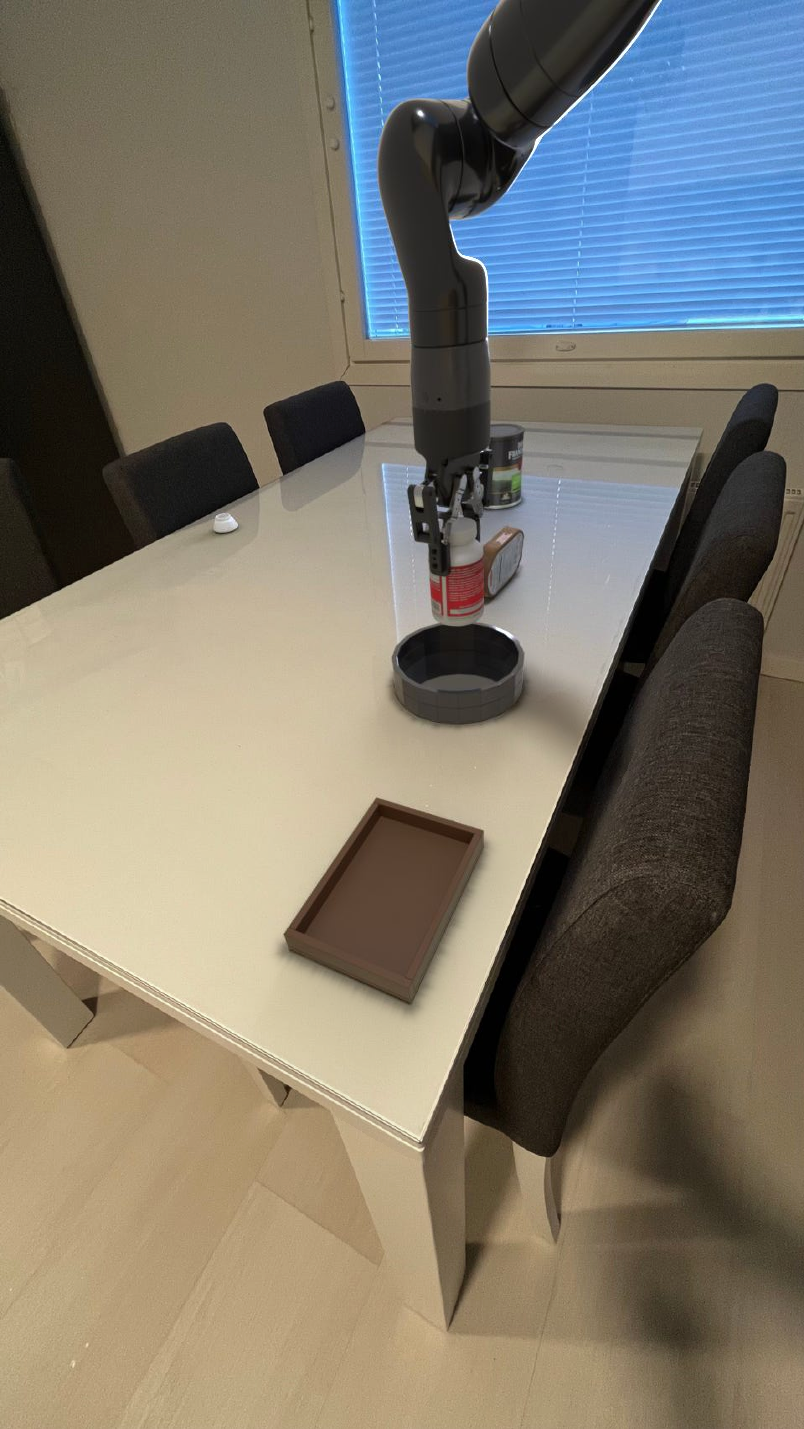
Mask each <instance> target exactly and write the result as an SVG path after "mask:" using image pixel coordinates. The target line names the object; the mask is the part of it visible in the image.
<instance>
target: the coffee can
mask: <svg viewBox="0 0 804 1429" xmlns="http://www.w3.org/2000/svg"><path fill="white" fill-rule="evenodd" d="M524 434H525V427H524V426H522V425H519V424H513V423H491V425H490V444H489V446H488V447H487V450H493V452H494V462H493V479H492V497H491V504H490V506H489V507H484V509H486V510H487V509H488V510H502V509H503V510H504V509H508V508H512V507H515V506H517V505H519V504H520V503H521V501H522V479H523V478H522V477H523V460H524V459H523V457H524V437H525V436H524ZM481 487H482V490H483V488H484V487H483V485H482V484H481Z"/></svg>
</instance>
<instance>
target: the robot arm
mask: <svg viewBox="0 0 804 1429" xmlns="http://www.w3.org/2000/svg"><path fill="white" fill-rule="evenodd" d="M662 1H663V0H499V2H498V3H497V5H496V6H495V7H494V8H493V10H491V13H490V14H489V15H488V16H487V18H486V20H485V21H484V23H483V24H482V26H481V27H480V29H479V31H478V32H477V34H476V36H475V37H474V40H473V41H472V45H471V47H470V50H469V54H468V57H467V62H466V86H467V92H468V96H466V97H465V98H464V99H445V98H444V99H442V98H437V99H436V98H423V97H422V98H415V97H414V98H409V99H406V100H404V101H401V102H400V103H399V104H397V105H396V106H395V107H394V108H393V109H392V110H391V112H390V113H389V115H388V116H387V118H386V120H385V122H384V123H383V124H384V125H383V128H382V130H381V134H380V137H379V142H378V147H377V157H376V174H377V175H376V176H377V177H376V178H377V185H378V186H377V187H378V191H379V197H380V202H381V206H382V211H383V214H384V217H385V221H386V224H387V227H388V231H389V234H390V238H391V242H392V244H393V247H394V252H395V256H396V259H397V264H398V267H399V270H400V273H401V276H402V279H403V283H404V286H405V290H406V295H407V314H408V332H409V333H408V334H409V344H410V348H409V349H410V352H409V353H410V357H409V386H410V398H411V399H410V400H411V414H412V428H413V443H414V444H413V445H414V450H415V451H416V452H417V454H418V455H421V456H422V457H423V459H424V460H425V472H424V477H423V481H422V482H420V483H419V484H413V483H411V484H408V486H407V489H406V495H407V500H408V507H409V513H410V520H411V526H412V533H413V539H414V540H413V541H414V542H416V543H421V544H427V547H428V548H427V549H428V550H429V562H430V563H428V567H429V566H430V571H431V573H432V574H433V575H438V576H443V577H446V576H447V575H449V574H450V573H451V560H450V542H449V538H450V533H451V528H452V523H453V522H455V521H456V520H457V518H458V517H459V515H460V517H466V518H470V519H473V520H474V521H475V522H476V526H477V535H476V538H475V539H476V540H477V541H479V542H480V543H481V519H482V518H483V517H484V514H485V508H484V507H489V506H490V504H491V497H492V479H493V462H494V452H493V450H487V447H488V446H489V444H490V425H491V424H492V423H491V417H492V416H491V414H492V413H491V412H492V411H491V410H492V408H491V406H492V403H491V402H492V400H491V399H492V398H491V397H492V396H491V395H492V392H491V391H492V389H491V387H492V385H491V384H492V382H491V381H492V380H491V378H492V367H491V366H492V365H491V356H490V348H489V338H488V337H489V279H488V273H487V270H486V266H484V264H483V262H482V261H480V260H479V259H476V258H474V257H470V256H466V255H462V254H461V253H460V252H459V251H458V248H457V245H456V241H455V238H454V233H453V230H452V226H451V221H461V220H469V219H472V218H476V217H478V216H481V215H482V214H483V213H485V212H487V211H488V210H489V209H491V208H492V207H493V206H494V205H495V204H497V203H498V202H499V201H500V200H501V199H502V198H503V197H504V196H505V195H506V193H507V192H509V190H510V189H511V187H512V186H513V184H514V183H515V181H516V179H517V178H518V177H519V175H520V173H521V172H522V170H523V168H525V165H526V164H527V163H528V161H529V160H530V158H531V157H532V155H533V154H534V152H535V150H536V148H537V146H538V144H539V143H540V141H541V139H542V137H543V136H544V135H545V134H547V133H548V132H549V131H550V130H551V129H553V127H554V126H555V125H556V124H557V123H558V122H559V121H561V120H562V118H564V116H566V115H567V114H568V112H570V111H571V110H572V109H573V108H574V107H575V106H576V105H577V104H578V103H579V102H580V101H581V100H582V99H583V98H584V97H585V96H586V95H587V94H589V92H590V91H591V90H592V89H593V88H594V87H595V86H596V85H597V84H598V83H599V82H600V81H601V80H602V79H603V78H604V77H605V76H606V74H607V73H608V72H610V70H612V68H613V67H614V66H615V65H616V64H617V63H618V61H619V60H620V59H621V58H622V57H623V56H624V54H625V53H626V52H627V51H628V50H629V48H630V47H631V46H632V44H633V43H634V42H635V41H636V39H637V38H638V37H639V35H640V34H641V33H642V31H643V30H644V29H645V27H646V25H647V24H648V22H649V21H650V20H651V18H652V17H653V15H654V14H655V12H656V10H657V9H658V7H659V6H660V5H661V2H662ZM481 484H482V485H483V487H484V488H483V490H482V487H481ZM438 508H444V509H447V511H442V510H438ZM440 520H443V524H442V530H441V532H440V528H439V521H440ZM424 524H425V527H424Z"/></svg>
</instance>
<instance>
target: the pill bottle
mask: <svg viewBox="0 0 804 1429" xmlns="http://www.w3.org/2000/svg"><path fill="white" fill-rule="evenodd" d="M442 524H443V520H441V519H439V528H440V532H441V530H442ZM476 535H477V526H476V522H475V521H474V520H473V519H470V518H466V517H464V516H458V518H457V520H456V521H455V522H453V523H452V528H451V533H450V538H449V542H450V560H451V573H450V574H449V575H447V576H446V577H443V576H438V575H433V574H432V573H431V571H430V566H429V565H428V575H429V577H428V578H429V592H430V606H431V615H432V617H433V619H434V620H435V621H436V622H438V623H441V624H444V625H448V626H465V625H469V624H472V623H474V622H478V621H479V620H480V619H481V618H482V616H483V615H484V612H485V596H484V554H483V545H482V543H481V541H480V542H479V541H477V540H476V539H475V538H476ZM429 563H430V562H429V549H428V551H427V564H429Z"/></svg>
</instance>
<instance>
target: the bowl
mask: <svg viewBox="0 0 804 1429" xmlns="http://www.w3.org/2000/svg"><path fill="white" fill-rule="evenodd" d="M525 656H526V655H525V651H524V648H523V646H522V644H521V642H520V640H519V639H517V638H516V637H515V636H513V635H512V634H511V633H510V632H509V631H507V630H504V629H503V628H500V627H497V626H496V625H493V624H488V623H483V622H479V621H476V622H474V623H472V624H469V625H465V626H448V625H444V624H441V623H439V622H438V623H434V624H433V623H432V624H430V625H427V626H424V627H421V628H418V629H416V630H414V631H412V632H411V633H409V634H407V635H406V636H404V637H403V638H402V639H401V640H400V641H399V642H398V643H397V644H396V645H395V648H394V650H393V652H392V655H391V665H392V673H393V684H394V692H395V696H396V697H397V698H398V701H399V702H400V704H401V705H402V706H403V707H404V708H405V709H406V710H408V711H409V713H412V714H414V715H415V716H417V717H419V718H422V719H424V720H426V721H427V720H428V721H430V722H435V723H441V724H449V725H450V724H451V725H461V724H473V723H478V722H483V721H486V720H489V719H493V718H494V717H497V716H500V715H501V714H503V713H504V712H506V711H507V710H509V709H510V708H511V707H512V706H513V705H514V704H516V702H517V701H518V700H519V698H520V696H521V694H522V692H523V687H524V686H523V684H524V673H525V672H524V670H525V669H524V668H525Z"/></svg>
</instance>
